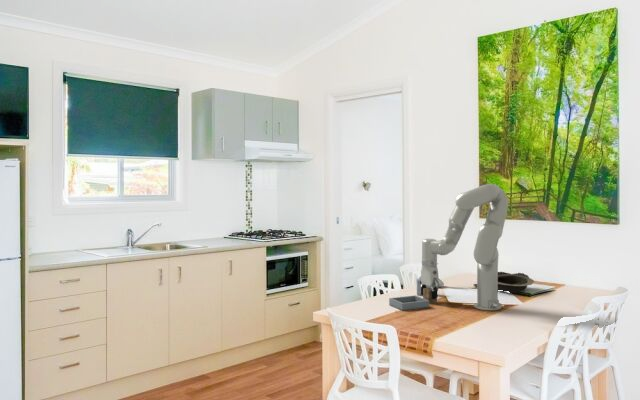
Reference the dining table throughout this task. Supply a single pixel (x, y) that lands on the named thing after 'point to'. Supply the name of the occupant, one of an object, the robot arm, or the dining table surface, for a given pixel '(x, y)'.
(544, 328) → the dining table surface
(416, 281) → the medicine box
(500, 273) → the stone bowl
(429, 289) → the walnut block
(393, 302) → the tray
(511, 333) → the dining table surface
